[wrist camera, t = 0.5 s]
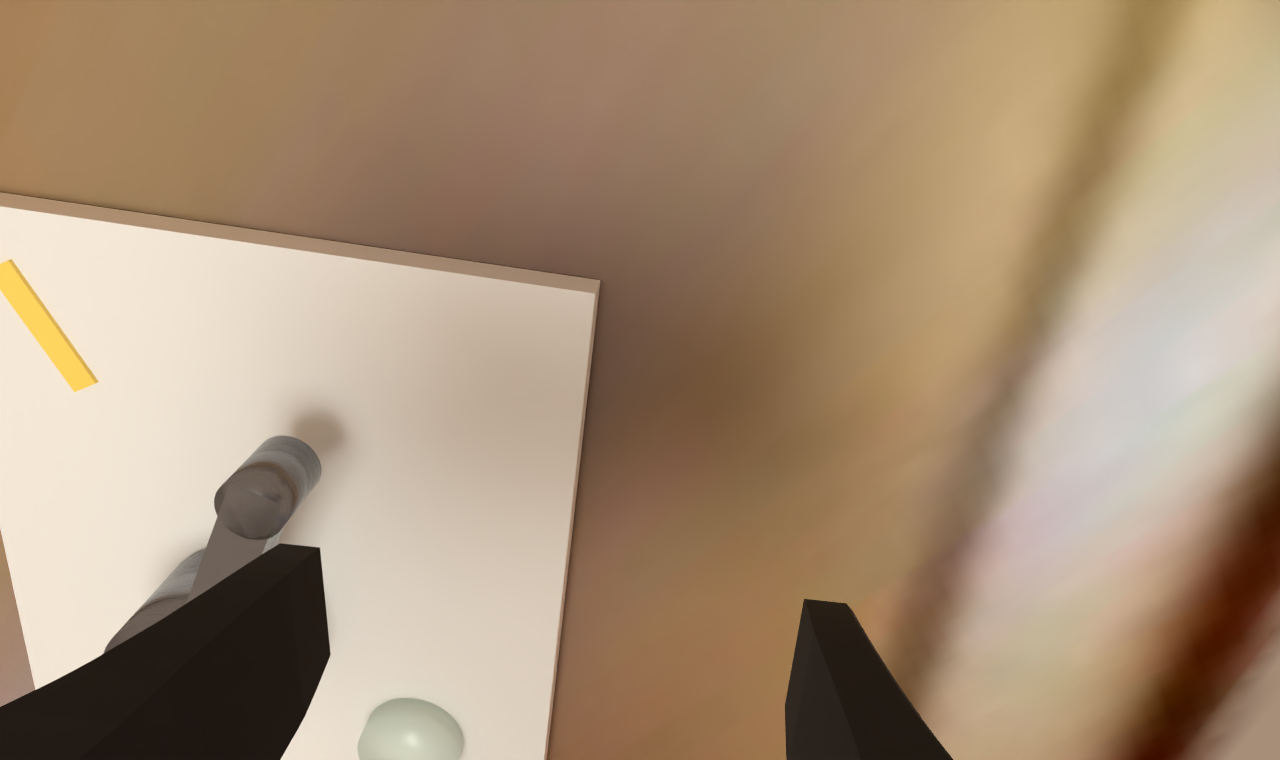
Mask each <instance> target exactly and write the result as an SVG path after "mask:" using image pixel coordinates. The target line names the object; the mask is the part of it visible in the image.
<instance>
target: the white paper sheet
mask: <svg viewBox="0 0 1280 760" xmlns="http://www.w3.org/2000/svg"><path fill="white" fill-rule="evenodd" d="M599 289H600V280H596V279H589V278H582V277H575V276H568V275H561V274H555V273H548V272H541V271H534V270H527V269H521V268H514V267H507V266H500V265H493V264H486V263H480V262H473V261H466V260H459V259H452V258H445V257H439V256H432V255H425V254H418V253H411V252H405V251H398V250H391V249H384V248H377V247H370V246H364V245H357V244H350V243H343V242H336V241H329V240H323V239H316V238H309V237H302V236H295V235H289V234H282V233H275V232H268V231H261V230H254V229H248V228H241V227H234V226H227V225H220V224H213V223H207V222H200V221H193V220H186V219H179V218H173V217H166V216H159V215H152V214H145V213H138V212H132V211H125V210H118V209H111V208H104V207H97V206H91V205H84V204H77V203H70V202H63V201H57V200H50V199H43V198H36V197H29V196H22V195H16V194H9V193H2V192H0V529H1V533H2V538H3V543H4V547H5V552H6V556H7V561H8V566H9V570H10V575H11V579H12V584H13V589H14V593H15V598H16V602H17V607H18V611H19V616H20V621H21V625H22V630H23V634H24V639H25V644H26V648H27V653H28V657H29V662H30V667H31V671H32V676H33V680H34V685H35V690H36V689H38V688H40V687H43V686H45V685H47V684H49V683H51V682H53V681H55V680H56V679H58V678H60V677H62V676H64V675H66V674H68V673H70V672H72V671H74V670H76V669H77V668H79V667H81V666H83V665H85V664H86V663H88V662H90V661H92V660H94V659H95V658H97V657H99V656H101V655H102V654H103V653H104V650H105V648H106V646H107V644H108V643H109V641H110V640H111V639H112V638H113V637H114V635H115V634H116V633H117V632H118V631H119V630H120V629H121V628H122V627H123V626H124V624H125V623H126V622H127V621H128V620H129V619H130V618H131V617H132V616H133V615H134V614H135V612H136V611H137V610H138V609H139V608H140V607H141V606H142V605H143V604H144V603H145V601H146V600H147V599H148V598H149V597H150V596H151V595H152V594H153V593H154V592H155V590H156V589H157V588H158V587H159V586H160V585H161V584H162V583H163V582H164V581H165V579H166V578H167V577H168V576H169V575H170V574H171V573H172V572H173V571H174V570H175V568H176V567H177V566H178V565H179V564H180V563H181V562H182V561H183V560H185V559H186V558H188V557H189V556H191V555H193V554H195V553H197V552H200V551H204V550H206V547H207V544H208V541H209V538H210V536H211V533H212V530H213V527H214V525H215V522H216V519H217V514H216V511H215V507H214V498H215V494H216V492H217V490H218V489H219V488H220V487H221V485H222V484H223V483H224V482H225V481H226V480H227V479H228V478H229V477H230V476H231V475H232V474H233V473H234V472H235V471H236V470H237V469H238V468H239V467H240V466H241V465H242V464H243V463H244V462H245V461H246V460H247V459H248V458H249V457H250V456H251V454H252V453H253V452H254V451H255V450H256V449H257V448H258V447H259V446H260V445H261V444H262V443H263V442H264V441H266V440H267V439H269V438H271V437H274V436H281V435H283V436H291V437H294V438H297V439H299V440H301V441H303V442H305V443H306V444H307V445H309V446H310V447H311V448H312V449H313V450H314V452H315V453H316V454H317V456H318V458H319V460H320V463H321V468H322V472H321V477H320V480H319V482H318V483H317V485H316V486H315V487H314V488H313V490H312V491H311V492H310V493H309V495H308V496H307V497H306V499H305V500H304V501H303V502H302V504H301V505H300V506H299V507H298V509H297V510H296V511H295V513H294V514H293V515H292V516H291V518H290V519H289V520H288V521H287V523H286V524H285V527H284V529H283V532H282V534H281V536H280V539H279V541H278V544H280V543H282V544H292V545H301V546H311V547H320V553H321V563H322V573H323V583H324V593H325V603H326V613H327V623H328V633H329V644H330V654H331V655H330V658H329V660H328V663H327V665H326V668H325V670H324V673H323V675H322V678H321V680H320V682H319V685H318V687H317V690H316V692H315V694H314V697H313V699H312V701H311V704H310V706H309V708H308V710H307V713H306V715H305V717H304V719H303V721H302V723H301V724H300V726H299V728H298V730H297V732H296V733H295V735H294V737H293V739H292V740H291V742H290V744H289V746H288V747H287V749H286V751H285V753H284V754H283V756H282V758H281V760H547V753H548V745H549V736H550V727H551V718H552V709H553V700H554V691H555V682H556V673H557V664H558V655H559V646H560V637H561V629H562V620H563V611H564V602H565V593H566V584H567V575H568V566H569V557H570V548H571V539H572V530H573V521H574V512H575V504H576V495H577V486H578V477H579V468H580V459H581V450H582V441H583V432H584V423H585V414H586V405H587V396H588V388H589V379H590V370H591V361H592V352H593V343H594V334H595V325H596V316H597V307H598V298H599ZM278 544H277V545H278Z"/></svg>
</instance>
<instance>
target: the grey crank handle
mask: <svg viewBox="0 0 1280 760" xmlns="http://www.w3.org/2000/svg"><path fill="white" fill-rule="evenodd" d="M321 472H322V468H321V463H320V460H319V458H318V456H317V454H316V453H315V452H314V450H313V449H312V448H311V447H310V446H309V445H307V444H306V443H305V442H303V441H301V440H299V439H297V438H294V437H291V436H283V435H281V436H274V437H271V438H269V439H267V440H266V441H264V442H263V443H262V444H261V445H260V446H259V447H258V448H257V449H256V450H255V451H254V452H253V453H252V454H251V456H250V457H249V458H248V459H247V460H246V461H245V462H244V463H243V464H242V465H241V466H240V467H239V468H238V469H237V470H236V471H235V472H234V473H233V474H232V475H231V476H230V477H229V478H228V479H227V480H226V481H225V482H224V483H223V484H222V485H221V487H220V488H219V489H218V490H217V492H216V494H215V498H214V507H215V511H216V514H217V519H216V522H215V525H214V527H213V530H212V533H211V536H210V538H209V541H208V544H207V547H206V550H204V551H200V552H197V553H195V554H193V555H191V556H189V557H188V558H186V559H185V560H183V561H182V562H181V563H180V564H179V565H178V566H177V567H176V568H175V570H174V571H173V572H172V573H171V574H170V575H169V576H168V577H167V578H166V579H165V581H164V582H163V583H162V584H161V585H160V586H159V587H158V588H157V589H156V590H155V592H154V593H153V594H152V595H151V596H150V597H149V598H148V599H147V600H146V601H145V603H144V604H143V605H142V606H141V607H140V608H139V609H138V610H137V611H136V612H135V614H134V615H133V616H132V617H131V618H130V619H129V620H128V621H127V622H126V623H125V624H124V626H123V627H122V628H121V629H120V630H119V631H118V632H117V633H116V634H115V635H114V637H113V638H112V639H111V640H110V641H109V643H108V644H107V646H106V648H105V650H104V653H106V652H107V651H109V650H111V649H112V648H114V647H116V646H117V645H119V644H121V643H123V642H124V641H126V640H128V639H129V638H131V637H133V636H134V635H136V634H138V633H140V632H141V631H143V630H145V629H146V628H148V627H150V626H151V625H153V624H155V623H157V622H158V621H160V620H161V619H163V618H165V617H166V616H168V615H169V614H171V613H172V612H174V611H175V610H177V609H179V608H180V607H182V606H183V605H185V604H186V603H188V602H189V601H191V600H193V599H194V598H196V597H197V596H199V595H200V594H202V593H203V592H205V591H207V590H208V589H210V588H211V587H213V586H214V585H216V584H217V583H219V582H220V581H222V580H223V579H225V578H226V577H228V576H229V575H231V574H233V573H234V572H236V571H237V570H239V569H240V568H242V567H243V566H245V565H246V564H248V563H249V562H251V561H252V560H254V559H255V558H257V557H259V556H260V555H262V554H263V553H265V552H267V551H268V550H270V549H272V548H273V547H275V546H277V544H278V541H279V539H280V536H281V534H282V532H283V529H284V527H285V524H286V523H287V521H288V520H289V519H290V518H291V516H292V515H293V514H294V513H295V511H296V510H297V509H298V507H299V506H300V505H301V504H302V502H303V501H304V500H305V499H306V497H307V496H308V495H309V493H310V492H311V491H312V490H313V488H314V487H315V486H316V485H317V483H318V482H319V480H320V477H321ZM104 653H103V654H104Z"/></svg>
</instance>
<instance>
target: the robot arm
mask: <svg viewBox="0 0 1280 760" xmlns="http://www.w3.org/2000/svg"><path fill="white" fill-rule="evenodd" d="M330 655H331V654H330V644H329V633H328V623H327V613H326V603H325V593H324V583H323V573H322V563H321V553H320V547H311V546H301V545H292V544H282V543H280V544H278V545H277V546H275V547H273V548H272V549H270V550H268V551H267V552H265V553H263V554H262V555H260V556H259V557H257V558H255V559H254V560H252V561H251V562H249V563H248V564H246V565H245V566H243V567H242V568H240V569H239V570H237V571H236V572H234V573H233V574H231V575H229V576H228V577H226V578H225V579H223V580H222V581H220V582H219V583H217V584H216V585H214V586H213V587H211V588H210V589H208V590H207V591H205V592H203V593H202V594H200V595H199V596H197V597H196V598H194V599H193V600H191V601H189V602H188V603H186V604H185V605H183V606H182V607H180V608H179V609H177V610H175V611H174V612H172V613H171V614H169V615H168V616H166V617H165V618H163V619H161V620H160V621H158V622H157V623H155V624H153V625H151V626H150V627H148V628H146V629H145V630H143V631H141V632H140V633H138V634H136V635H134V636H133V637H131V638H129V639H128V640H126V641H124V642H123V643H121V644H119V645H117V646H116V647H114V648H112V649H111V650H109V651H107V652H106V653H104V654H102V655H101V656H99V657H97V658H95V659H94V660H92V661H90V662H88V663H86V664H85V665H83V666H81V667H79V668H77V669H76V670H74V671H72V672H70V673H68V674H66V675H64V676H62V677H60V678H58V679H56V680H55V681H53V682H51V683H49V684H47V685H45V686H43V687H40V688H38V689H36V690H34V691H32V692H30V693H28V694H26V695H24V696H22V697H20V698H18V699H16V700H14V701H12V702H10V703H8V704H6V705H4V706H1V707H0V760H281V758H282V756H283V754H284V753H285V751H286V749H287V747H288V746H289V744H290V742H291V740H292V739H293V737H294V735H295V733H296V732H297V730H298V728H299V726H300V724H301V723H302V721H303V719H304V717H305V715H306V713H307V710H308V708H309V706H310V704H311V701H312V699H313V697H314V694H315V692H316V690H317V687H318V685H319V682H320V680H321V678H322V675H323V673H324V670H325V668H326V665H327V663H328V660H329V658H330ZM785 725H786V757H787V760H953V759H952V758H951V756H950V755H949V754H948V752H947V751H946V750H945V749H944V747H943V746H942V745H941V744H940V742H939V741H938V740H937V738H936V737H935V736H934V734H933V733H932V732H931V730H930V729H929V728H928V726H927V725H926V724H925V722H924V721H923V720H922V718H921V717H920V715H919V714H918V712H917V711H916V710H915V708H914V707H913V705H912V704H911V702H910V701H909V700H908V698H907V697H906V695H905V694H904V692H903V691H902V690H901V688H900V687H899V685H898V684H897V682H896V681H895V679H894V678H893V676H892V675H891V673H890V672H889V670H888V669H887V667H886V665H885V664H884V662H883V661H882V659H881V658H880V656H879V654H878V653H877V651H876V650H875V648H874V646H873V645H872V643H871V641H870V640H869V638H868V636H867V635H866V633H865V631H864V630H863V628H862V626H861V625H860V623H859V621H858V620H857V618H856V616H855V614H854V613H853V611H852V610H851V609H850V607H849V606H848V605H847V604H846V603H836V602H827V601H818V600H808V599H804V603H803V608H802V614H801V620H800V625H799V631H798V636H797V642H796V647H795V653H794V659H793V664H792V670H791V675H790V681H789V686H788V692H787V698H786V703H785Z"/></svg>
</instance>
